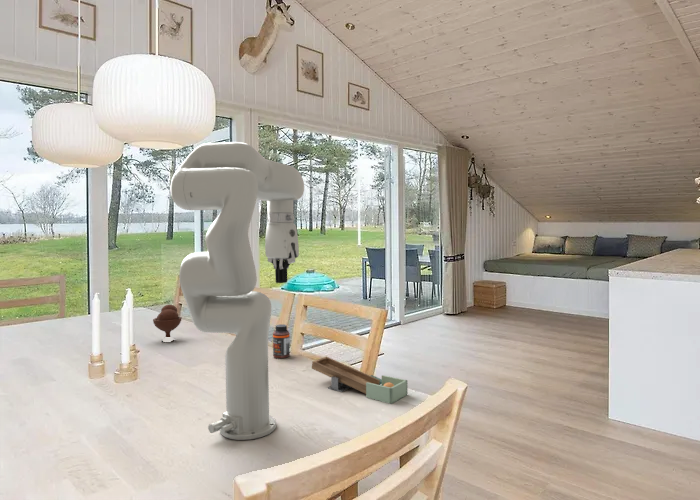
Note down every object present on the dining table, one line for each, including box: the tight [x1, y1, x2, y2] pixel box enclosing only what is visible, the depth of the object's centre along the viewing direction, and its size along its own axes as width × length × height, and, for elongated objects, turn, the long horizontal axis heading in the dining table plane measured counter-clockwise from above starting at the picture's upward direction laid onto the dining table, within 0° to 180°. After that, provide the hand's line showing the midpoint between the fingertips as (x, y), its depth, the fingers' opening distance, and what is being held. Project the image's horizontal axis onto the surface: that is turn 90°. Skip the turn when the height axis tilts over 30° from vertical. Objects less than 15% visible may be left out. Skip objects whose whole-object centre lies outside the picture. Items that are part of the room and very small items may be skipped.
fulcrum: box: [327, 376, 352, 393], centre depth 136 cm, size 9×5×4 cm, turn 143°
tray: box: [365, 375, 408, 404], centre depth 128 cm, size 8×8×4 cm
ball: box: [383, 382, 394, 388], centre depth 127 cm, size 4×4×4 cm
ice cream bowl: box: [152, 304, 182, 337], centre depth 194 cm, size 11×11×15 cm
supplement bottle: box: [272, 323, 291, 359], centre depth 169 cm, size 6×6×11 cm
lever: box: [311, 356, 382, 395], centre depth 138 cm, size 10×20×2 cm, turn 53°
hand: (281, 282), depth 138 cm, fingers closed
